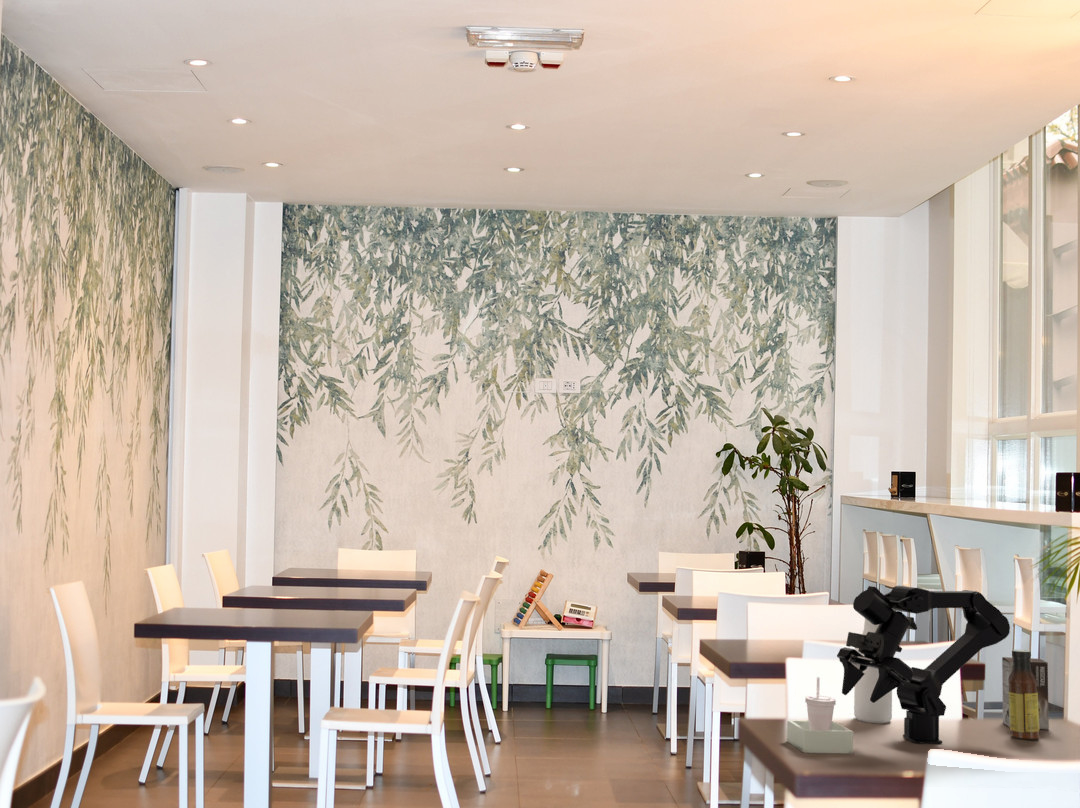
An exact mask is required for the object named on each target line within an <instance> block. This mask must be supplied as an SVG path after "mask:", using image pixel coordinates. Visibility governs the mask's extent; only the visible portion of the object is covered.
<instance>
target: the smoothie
mask: <svg viewBox="0 0 1080 808" xmlns="http://www.w3.org/2000/svg"><path fill="white" fill-rule="evenodd" d="M820 680H821V679H820V677H816V695H813V694H812V695H807V696H804V697H805V701H804V702H805V703H806V707H807V708H806V709H807V710H806V711H807V719H808V720H807V721H809V730H831V724H832V721H833V716H834V708H835V706H836V705H837V703H836V701H837V700H836V698H835V697H831V696H826V695H825V696H824V695H820Z"/></svg>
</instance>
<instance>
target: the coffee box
mask: <svg viewBox="0 0 1080 808" xmlns="http://www.w3.org/2000/svg"><path fill="white" fill-rule="evenodd" d="M1001 659H1002V661H1001V663H1002V664H1001V665H1002V666H1001V669H1002V676H1001V677H1002V678H1001V679H1002V680H1001V681H1002V686H1001V687H1002V723H1003V724H1005V725H1006V726H1007V727H1009V728H1010V714H1009V681H1008V678H1009V676H1010V674H1011V673H1012V671H1013V657H1006V656H1004V657H1003V656H1002V658H1001ZM1030 666H1031V671H1032V673H1033V675H1034V677H1035V678H1036V680H1037V692H1038V711H1039V730H1049V729H1050V722H1049V721H1050V718H1049V717H1050V715H1049V713H1050V712H1049V670H1048V669H1049V668H1048V667H1049V665H1048V661H1046V660H1044V659H1041V658H1030Z"/></svg>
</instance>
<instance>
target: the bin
mask: <svg viewBox="0 0 1080 808" xmlns="http://www.w3.org/2000/svg"><path fill="white" fill-rule="evenodd" d="M786 742H787V743H789V744H790V745H792V746H793V747H795V748H796V749H798V750H800V751H801V752H803V753H804V754H806V753H807V754H854V731H853V730H851V729H850V728H848V727H846V726H844V725H842V724H840V723H838V722H837V721H834V720H832V724H831V730H809V721H808V720H799V719H798V720H797V719H794V720H793V719H792V720H791V719H787V722H786Z"/></svg>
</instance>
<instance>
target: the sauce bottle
mask: <svg viewBox="0 0 1080 808" xmlns="http://www.w3.org/2000/svg"><path fill="white" fill-rule="evenodd" d="M1011 656H1012V658H1013V671H1012V673H1011V674H1010V676H1009V678H1008V681H1009V714H1010V727H1009V729H1010V734H1011V737H1013V738H1015V739H1020V740H1028V741H1029V740H1030V741H1032V740H1034V741H1035V740H1038V739H1039V738H1040V733H1039V732H1040V729H1039V711H1038V692H1037V680H1036V678H1035V677H1034V675H1033V673H1032V671H1031V666H1030V658H1031V656H1032V653H1031V651H1030V650H1028V649H1012V650H1011Z"/></svg>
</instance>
